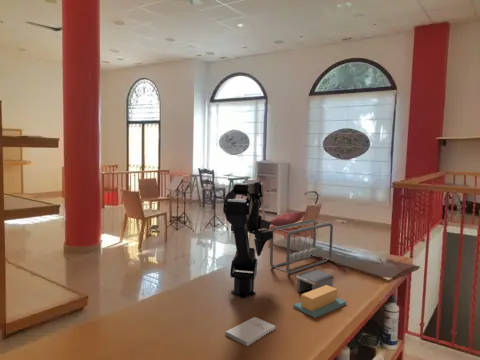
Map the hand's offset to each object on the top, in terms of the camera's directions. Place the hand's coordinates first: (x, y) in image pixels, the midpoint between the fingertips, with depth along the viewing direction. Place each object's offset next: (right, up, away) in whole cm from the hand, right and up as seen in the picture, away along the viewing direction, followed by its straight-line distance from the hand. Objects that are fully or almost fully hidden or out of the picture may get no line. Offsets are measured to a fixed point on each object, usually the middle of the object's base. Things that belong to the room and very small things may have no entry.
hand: (250, 252), depth 144 cm
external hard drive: (-1, -16, -38) cm, 41 cm away
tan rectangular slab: (+22, -13, -21) cm, 33 cm away
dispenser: (+23, -12, -8) cm, 27 cm away
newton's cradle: (+23, -10, +21) cm, 32 cm away
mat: (+22, -14, -20) cm, 33 cm away
